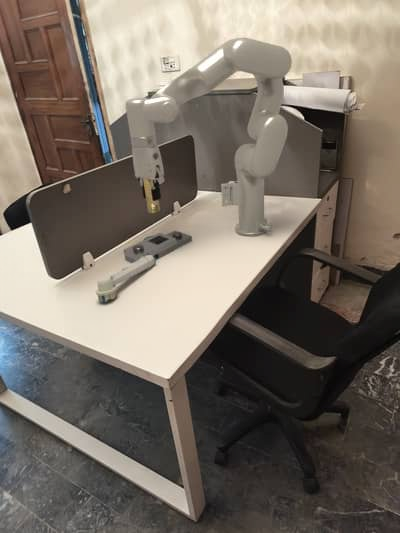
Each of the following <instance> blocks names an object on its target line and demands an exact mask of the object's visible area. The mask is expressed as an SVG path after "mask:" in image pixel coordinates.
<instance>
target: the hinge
mask: <svg viewBox="0 0 400 533" xmlns="http://www.w3.org/2000/svg"><path fill="white" fill-rule="evenodd" d="M220 188H221V191H220V192H221V204H222V205H221V206H222V207H227V205H228V206H238V183H237V180H236V181H234V180H230V181H228V183H227V182H226V183H221V184H220Z"/></svg>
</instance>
